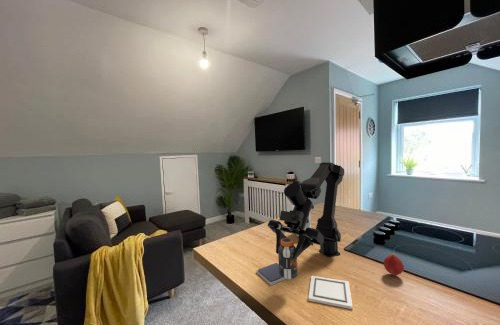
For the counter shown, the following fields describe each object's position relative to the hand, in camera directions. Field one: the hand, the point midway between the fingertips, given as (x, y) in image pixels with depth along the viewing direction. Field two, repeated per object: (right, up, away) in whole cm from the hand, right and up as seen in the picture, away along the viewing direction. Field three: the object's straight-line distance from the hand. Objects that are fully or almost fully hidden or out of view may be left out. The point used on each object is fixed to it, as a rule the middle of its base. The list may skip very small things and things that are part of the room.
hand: (285, 256), depth 66 cm
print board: (+14, -11, 0) cm, 18 cm away
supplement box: (+18, -10, +47) cm, 51 cm away
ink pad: (-2, -12, +11) cm, 17 cm away
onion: (+39, -10, +7) cm, 41 cm away
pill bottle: (+1, -7, +1) cm, 7 cm away
